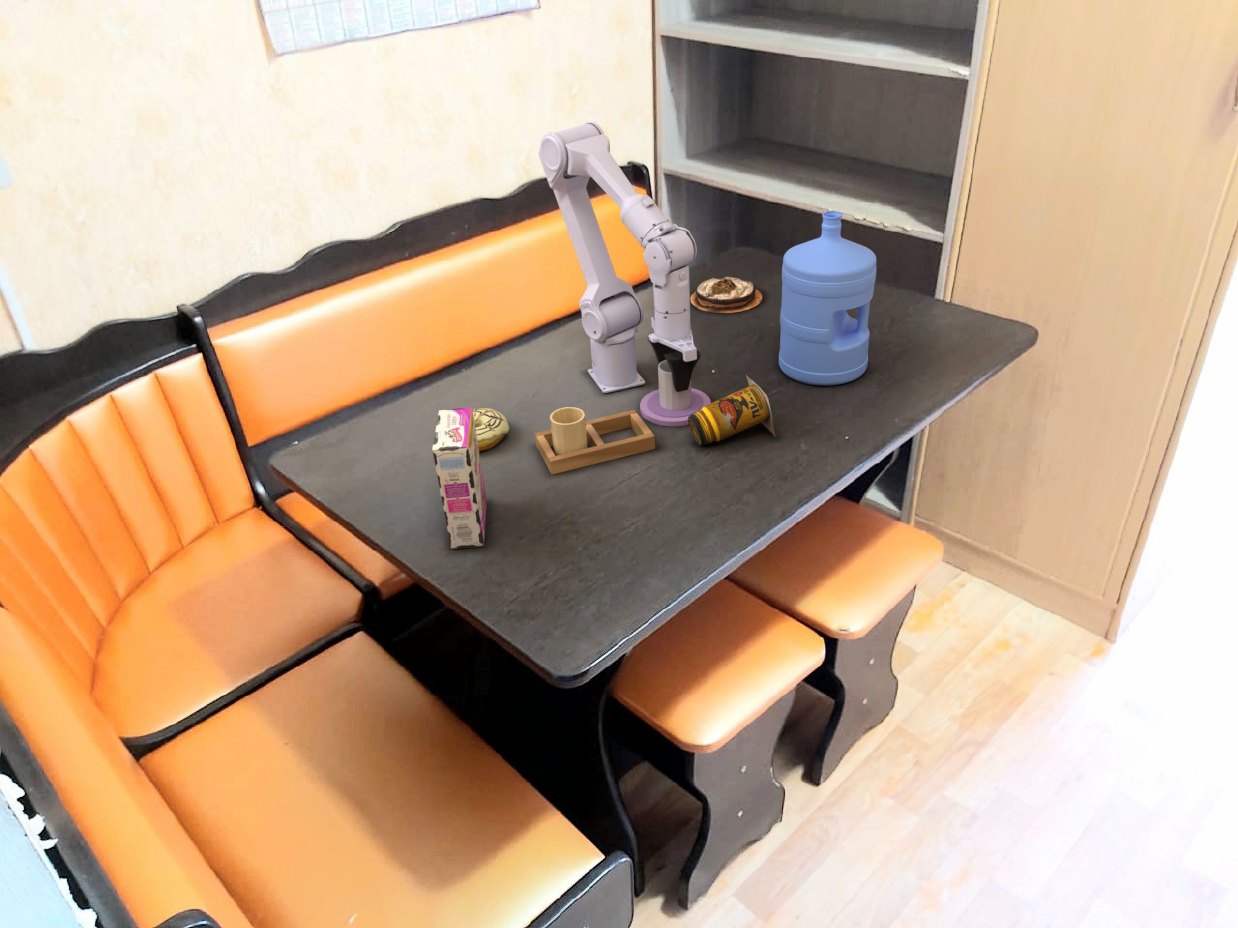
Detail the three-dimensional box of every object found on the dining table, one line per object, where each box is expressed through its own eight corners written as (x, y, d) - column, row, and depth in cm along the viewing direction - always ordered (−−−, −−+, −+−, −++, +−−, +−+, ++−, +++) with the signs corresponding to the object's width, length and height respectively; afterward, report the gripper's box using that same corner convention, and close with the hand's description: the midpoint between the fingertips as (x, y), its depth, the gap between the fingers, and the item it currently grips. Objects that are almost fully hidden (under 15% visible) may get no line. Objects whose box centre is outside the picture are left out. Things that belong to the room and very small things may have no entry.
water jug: (769, 381, 162) (773, 227, 147) (789, 343, 174) (795, 197, 159) (858, 393, 157) (873, 233, 142) (873, 353, 169) (888, 202, 154)
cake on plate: (735, 318, 185) (736, 299, 183) (676, 303, 194) (675, 284, 191) (775, 293, 194) (775, 275, 192) (716, 280, 203) (716, 262, 200)
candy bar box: (486, 547, 128) (468, 447, 119) (450, 550, 128) (429, 451, 119) (489, 500, 137) (472, 405, 128) (455, 504, 137) (436, 408, 128)
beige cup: (550, 449, 148) (545, 411, 144) (582, 441, 150) (578, 404, 146) (560, 465, 144) (555, 427, 140) (592, 457, 145) (589, 419, 141)
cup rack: (536, 446, 149) (534, 433, 148) (635, 422, 154) (634, 409, 152) (551, 475, 142) (550, 461, 141) (655, 449, 146) (654, 435, 145)
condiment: (767, 394, 142) (697, 424, 140) (776, 437, 147) (709, 467, 145) (747, 374, 148) (680, 403, 146) (756, 416, 153) (691, 445, 151)
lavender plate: (630, 400, 160) (629, 394, 159) (693, 385, 163) (693, 380, 162) (655, 432, 150) (655, 426, 150) (722, 416, 153) (722, 410, 153)
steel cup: (654, 399, 158) (653, 362, 154) (684, 392, 159) (682, 355, 155) (666, 413, 153) (665, 376, 149) (696, 406, 155) (695, 369, 151)
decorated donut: (522, 435, 152) (519, 416, 150) (472, 464, 146) (468, 444, 144) (481, 416, 159) (478, 397, 156) (431, 443, 152) (427, 423, 150)
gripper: (632, 295, 151) (637, 369, 159) (666, 329, 140) (669, 406, 147) (672, 287, 153) (674, 360, 160) (708, 320, 141) (709, 397, 149)
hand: (674, 382), depth 154 cm, fingers closed on steel cup, 5 cm apart
